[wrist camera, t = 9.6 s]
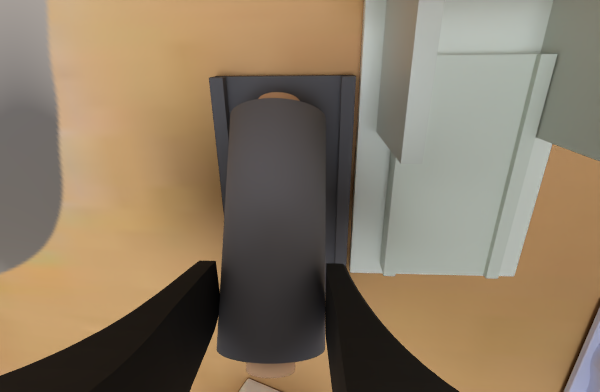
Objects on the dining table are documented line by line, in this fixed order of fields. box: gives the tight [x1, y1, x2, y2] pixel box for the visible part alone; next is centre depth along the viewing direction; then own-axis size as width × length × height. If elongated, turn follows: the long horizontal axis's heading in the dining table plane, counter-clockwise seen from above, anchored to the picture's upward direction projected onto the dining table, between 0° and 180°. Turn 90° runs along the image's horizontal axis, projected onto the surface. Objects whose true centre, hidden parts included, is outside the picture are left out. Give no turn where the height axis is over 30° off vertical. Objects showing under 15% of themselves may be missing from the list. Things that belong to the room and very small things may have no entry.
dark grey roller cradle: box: [209, 75, 356, 292], centre depth 17 cm, size 12×6×1 cm, turn 1°
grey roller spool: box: [217, 92, 326, 378], centre depth 13 cm, size 11×4×4 cm
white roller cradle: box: [349, 0, 600, 279], centre depth 14 cm, size 14×9×6 cm, turn 1°
